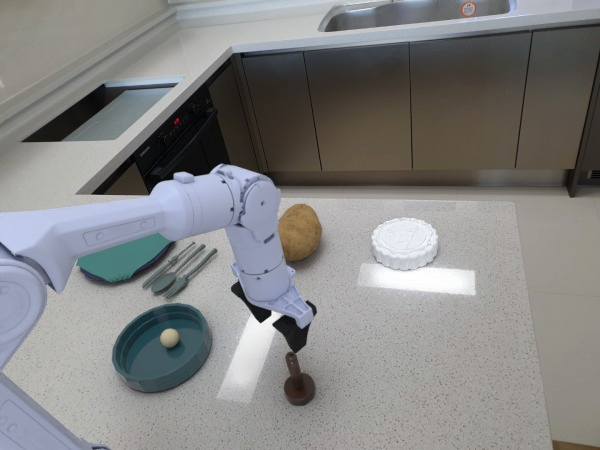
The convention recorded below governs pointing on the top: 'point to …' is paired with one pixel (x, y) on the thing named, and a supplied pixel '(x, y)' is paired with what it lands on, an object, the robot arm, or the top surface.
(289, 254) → the potato
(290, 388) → the wooden pestle
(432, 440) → the top surface
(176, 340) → the dough ball
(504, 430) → the top surface
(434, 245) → the mooncake
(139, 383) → the bowl
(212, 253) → the cutlery set
